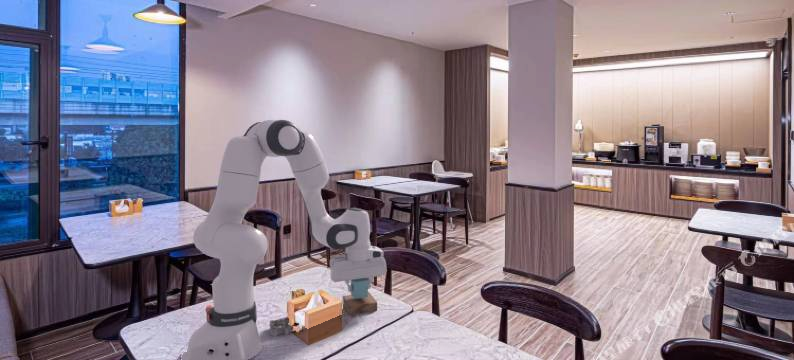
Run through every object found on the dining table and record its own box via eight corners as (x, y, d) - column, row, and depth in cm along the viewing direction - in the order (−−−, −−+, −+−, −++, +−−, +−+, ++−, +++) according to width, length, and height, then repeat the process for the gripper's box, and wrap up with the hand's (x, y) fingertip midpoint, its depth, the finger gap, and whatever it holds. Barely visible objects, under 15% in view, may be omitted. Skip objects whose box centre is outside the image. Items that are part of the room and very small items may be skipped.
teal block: (354, 299, 155) (354, 282, 154) (350, 293, 160) (350, 278, 159) (368, 296, 157) (367, 280, 156) (364, 291, 162) (363, 276, 161)
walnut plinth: (349, 314, 153) (349, 306, 152) (343, 303, 162) (342, 296, 162) (377, 310, 156) (377, 302, 156) (369, 299, 165) (368, 292, 165)
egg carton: (303, 323, 148) (302, 312, 147) (303, 334, 140) (302, 322, 140) (270, 326, 145) (269, 315, 145) (268, 337, 138) (268, 325, 138)
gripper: (331, 258, 150) (332, 297, 152) (387, 251, 157) (388, 288, 159) (327, 253, 156) (328, 290, 157) (382, 247, 163) (382, 282, 164)
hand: (359, 289), depth 158 cm, fingers closed on teal block, 5 cm apart
